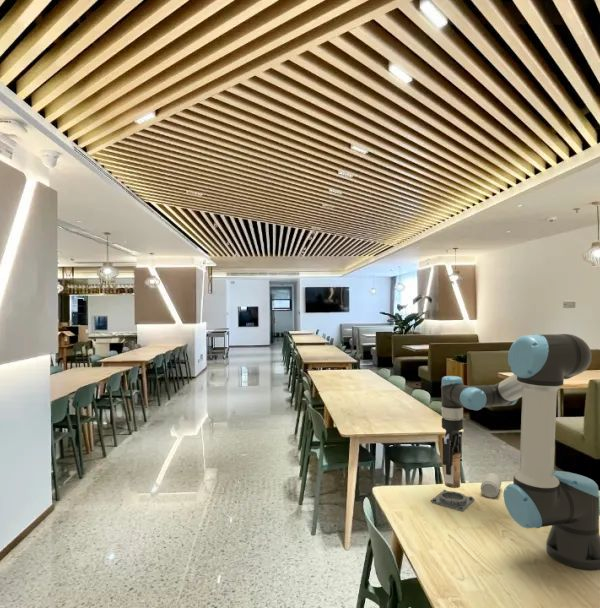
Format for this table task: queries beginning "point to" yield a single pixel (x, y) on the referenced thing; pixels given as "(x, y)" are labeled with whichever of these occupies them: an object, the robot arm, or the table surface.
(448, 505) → the flange
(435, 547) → the table surface
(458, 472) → the copper cylinder
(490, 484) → the beverage can
